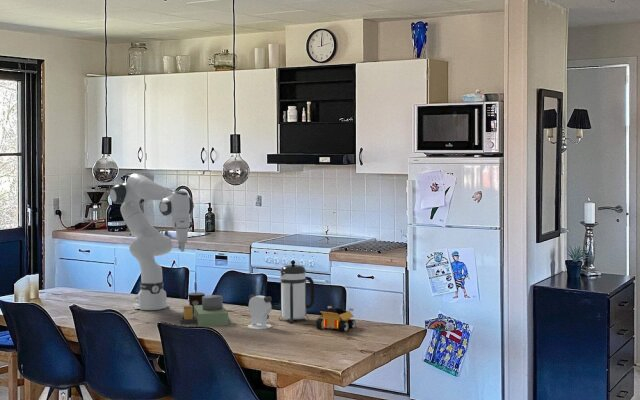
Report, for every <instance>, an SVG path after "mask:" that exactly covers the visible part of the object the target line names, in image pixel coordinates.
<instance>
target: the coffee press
mask: <svg viewBox="0 0 640 400" xmlns="http://www.w3.org/2000/svg"><path fill="white" fill-rule="evenodd" d="M296 263H297V262H296V260H294V259H293V260H291V261H290V264H288V265H287V264H286V265H284V266H283V267H281V270H279V272H280V274H279V276H280V277H279V278H280V316H279V317H278V321H282V320H283V319H285V320H289V323H290V324H293V323H294V320H300V319H301V320H302V319H303V320H305V321H307V322H308V321H309V319H310V318H309V317H308V316H307V315H308V314H307V309H310V308H312V306H313V305H314V303H315V283H314V279H312V277H310V276H306V273H307V270H306V268H305V267H304V265H301V264H296ZM307 281H308V282H309V291H310V292H309V296H310V297H309V298H310V299H309V302H308V304H307ZM281 316H282V319H281ZM305 317H306V318H307V319H306V318H305Z"/></svg>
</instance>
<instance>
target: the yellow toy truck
mask: <svg viewBox="0 0 640 400" xmlns="http://www.w3.org/2000/svg"><path fill="white" fill-rule="evenodd" d="M327 309H328V310H327V311H320V313H321V315H319V317H318V318H317V319H316V321H315V327H316V328H317V329H318V330H319V329H320V330H324V329H326V328H327V329H331V330H332V329H335V330H338V331H339V332H343V333H344V332H345V331H346V332H347V331H348V330H349V329H354V328H353V327H355V328H356V325H357V323H356V322H357V321H356V320H355V319H353V318H354V317H355V316H354V314H353V313H352V312H353V311H354V308H351V307H349V308H348V311H347V310H346V309H343V308H342V309H341V308H338V307H337V308H334V307H333V306H332V305H328V306H327ZM346 332H345V333H346Z"/></svg>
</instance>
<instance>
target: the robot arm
mask: <svg viewBox="0 0 640 400" xmlns="http://www.w3.org/2000/svg"><path fill="white" fill-rule="evenodd" d="M109 199H110V201H111V202H112V203H113V204H115V205H121V206H120V208H119V209H120V214H121V216H122V218H123V222H124V223H125V225H126V226H127V228H128V230H129V232H130V233H131V235H132V236H134V237H135V238H134V239H132V240H131V242H130V243H129V252H130V254H131V256H133V258H135V259H136V260H137V262H138V264H139V267H140V276H141V277H140V278H141V279H140V280H141V281H140V284H139V285H140V286H139V287H140V290H139V292H138V293H137V294H136V296H134V301H136V302H134V303H133V304H132V306H133V305H134V306H133V308H134V307H135V308H134V310H135V309H140V310H139V311H156V310H163V309H166V308H169V307H170V304H169V303H168V301H167V292H166V290H164V281H163V268H162V266H161V265H160V264H158V263H157V262H156V259H155V257H158V256H164V255H167V254H169V253H170V252H171V251H172V249H173V241H172V239H171V237H169V235H165V234H163V233H161V232H160V231H159V230H157V228H155V227H154V226H153V225H152V224H151V223H150V221H149V220H148V218H147V216H146V215H145V213H144V212H143V210H142V208H141V206H140V204H143V203H144V202H145V201H159V207H158V208H159V212H160V213H161V215H163V216H164V217H171V220H172V227H173V228H174V231H176V232H175V235H176V240H177V241H178V242H177V243H178V249H179V250H180V252H181V253H182V252H183V253H184V252H185V246H186V243H188V242H187V241H188V234H189V228H190V227H191V216H190V214H192V213H193V211H194V207H195V206H194V205H195V204H194V201H193V199H192V198H191V197H190V196H189V193H188V192H187V191H184V190H183V191H182V190H175V191H173V190H172V189H170V188H168V187H165V186H163V185H161V184H159V183H157V182H155V181H154V180H151V179H150V178H149V177H147V176H145V175H143V174H140V173H132V174H130V175H129V176H128V177H127V179H126V182H124V183H118V184H115V185H113V186H112V187H111V188H110V189H109Z"/></svg>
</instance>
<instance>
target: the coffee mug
mask: <svg viewBox="0 0 640 400" xmlns="http://www.w3.org/2000/svg"><path fill="white" fill-rule="evenodd" d="M187 295H188V303H189V305H192V306H193V315H194V305H202V297H203V296H206V293H205V292H198V291H197V292H190V293H187Z"/></svg>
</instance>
